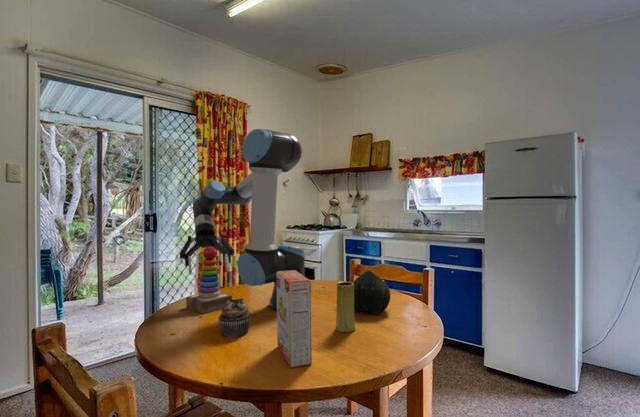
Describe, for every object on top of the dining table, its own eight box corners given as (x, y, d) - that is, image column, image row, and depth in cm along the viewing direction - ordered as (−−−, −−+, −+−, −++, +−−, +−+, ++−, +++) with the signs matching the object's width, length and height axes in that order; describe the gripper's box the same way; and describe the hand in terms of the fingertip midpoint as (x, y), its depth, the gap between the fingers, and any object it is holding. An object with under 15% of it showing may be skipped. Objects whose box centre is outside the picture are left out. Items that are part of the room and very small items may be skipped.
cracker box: (275, 346, 98) (275, 270, 97) (297, 343, 100) (296, 269, 99) (288, 369, 85) (287, 281, 84) (312, 365, 86) (312, 279, 86)
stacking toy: (214, 299, 131) (213, 248, 130) (194, 298, 132) (193, 247, 132) (224, 293, 138) (223, 245, 138) (205, 292, 140) (204, 245, 140)
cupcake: (216, 330, 111) (216, 298, 111) (247, 325, 115) (247, 294, 115) (220, 341, 102) (220, 306, 102) (254, 335, 106) (253, 302, 106)
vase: (357, 327, 113) (357, 282, 113) (352, 333, 107) (352, 286, 107) (338, 325, 115) (338, 280, 115) (333, 331, 109) (333, 285, 109)
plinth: (231, 306, 136) (231, 295, 136) (203, 313, 127) (203, 302, 127) (214, 300, 144) (214, 290, 144) (186, 307, 135) (186, 296, 135)
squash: (366, 305, 118) (384, 267, 125) (335, 298, 129) (353, 263, 136) (387, 326, 125) (403, 289, 132) (356, 318, 136) (372, 284, 143)
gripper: (234, 232, 154) (241, 273, 141) (171, 235, 144) (173, 279, 131) (236, 221, 149) (244, 262, 136) (171, 222, 139) (173, 267, 126)
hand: (209, 270), depth 133 cm, fingers open, 13 cm apart
